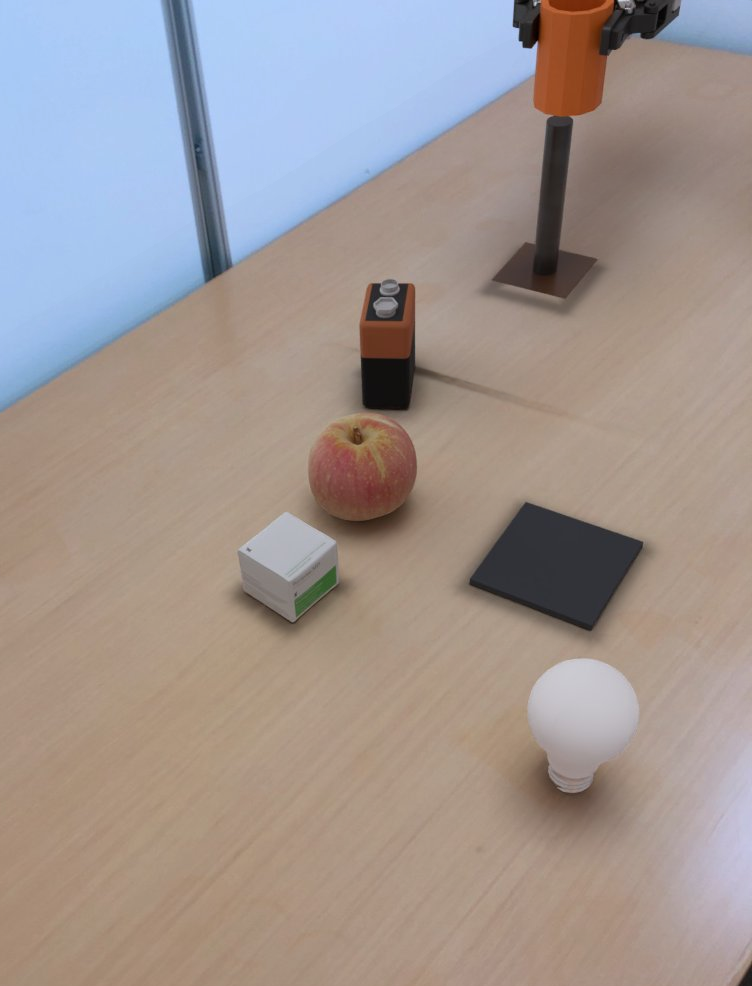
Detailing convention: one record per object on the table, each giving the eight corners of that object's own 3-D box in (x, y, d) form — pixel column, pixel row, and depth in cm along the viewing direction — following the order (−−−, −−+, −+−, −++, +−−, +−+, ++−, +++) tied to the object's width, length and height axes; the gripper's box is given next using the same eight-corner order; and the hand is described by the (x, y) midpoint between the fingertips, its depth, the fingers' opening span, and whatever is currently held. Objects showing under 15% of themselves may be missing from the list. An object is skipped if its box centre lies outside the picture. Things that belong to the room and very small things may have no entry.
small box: (293, 625, 85) (288, 581, 81) (241, 592, 87) (234, 548, 84) (342, 584, 87) (339, 539, 83) (290, 552, 90) (285, 507, 86)
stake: (596, 267, 113) (619, 109, 101) (564, 307, 109) (583, 147, 97) (524, 250, 116) (538, 95, 104) (490, 288, 112) (500, 131, 100)
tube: (611, 93, 94) (624, -9, 88) (584, 121, 92) (596, 17, 86) (550, 83, 97) (559, -17, 91) (522, 110, 94) (529, 9, 88)
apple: (431, 523, 90) (432, 447, 84) (329, 552, 89) (323, 477, 83) (394, 460, 96) (392, 384, 90) (297, 486, 95) (289, 411, 89)
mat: (642, 547, 86) (643, 541, 86) (590, 630, 81) (592, 625, 81) (525, 506, 91) (525, 501, 90) (469, 584, 86) (469, 578, 85)
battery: (361, 409, 101) (357, 315, 94) (370, 365, 105) (366, 271, 98) (409, 411, 100) (409, 315, 93) (415, 366, 105) (416, 272, 97)
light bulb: (574, 843, 70) (596, 743, 62) (497, 779, 74) (508, 677, 66) (641, 783, 73) (671, 679, 64) (563, 724, 76) (582, 619, 68)
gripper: (547, -89, 97) (482, -18, 88) (715, -82, 92) (664, -6, 83) (540, 3, 103) (478, 79, 94) (697, 15, 98) (648, 96, 89)
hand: (565, 39), depth 88 cm, fingers closed on tube, 5 cm apart
